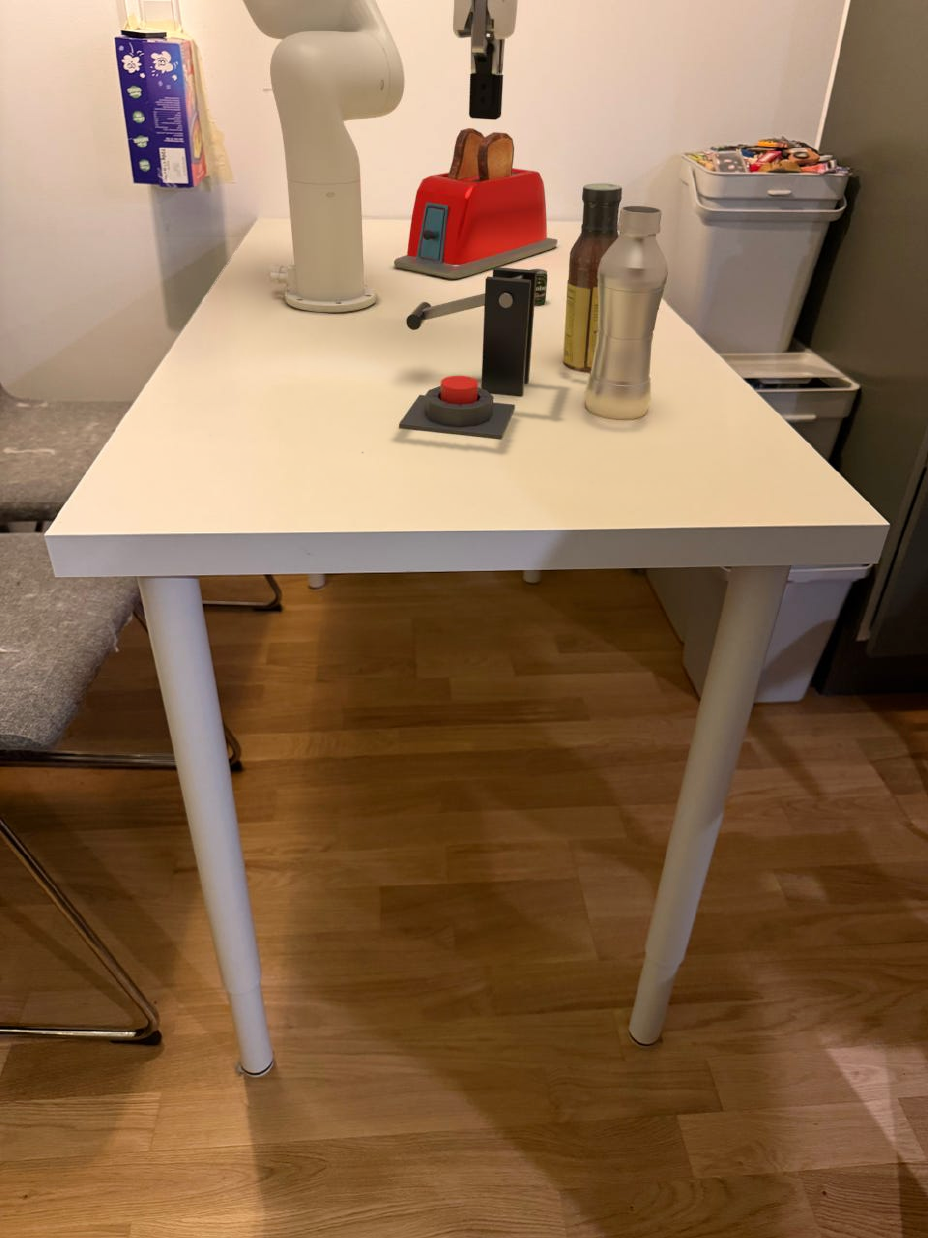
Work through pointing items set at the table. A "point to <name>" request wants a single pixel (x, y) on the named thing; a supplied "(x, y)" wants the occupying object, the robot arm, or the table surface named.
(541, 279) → the beer can
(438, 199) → the toaster
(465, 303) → the lever
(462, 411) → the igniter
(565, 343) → the sauce bottle
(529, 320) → the bracket
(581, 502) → the table surface
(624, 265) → the plastic bottle
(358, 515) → the table surface
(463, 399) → the button
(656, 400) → the table surface
